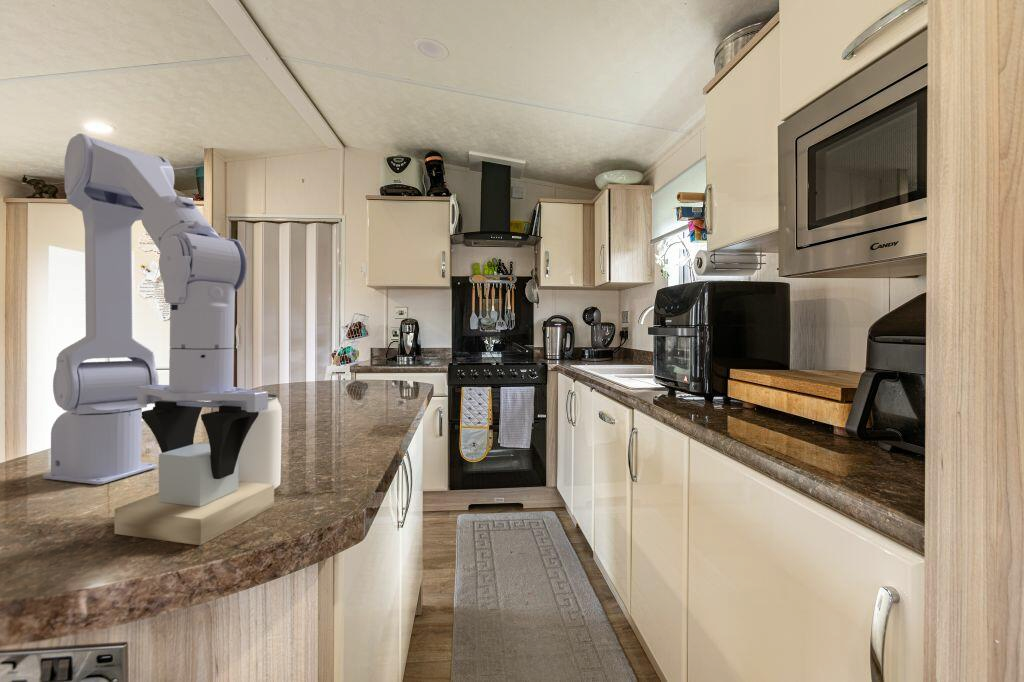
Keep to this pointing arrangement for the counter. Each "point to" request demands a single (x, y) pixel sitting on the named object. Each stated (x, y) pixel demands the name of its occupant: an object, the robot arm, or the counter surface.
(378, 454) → the counter surface
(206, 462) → the block
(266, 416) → the can
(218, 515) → the base
